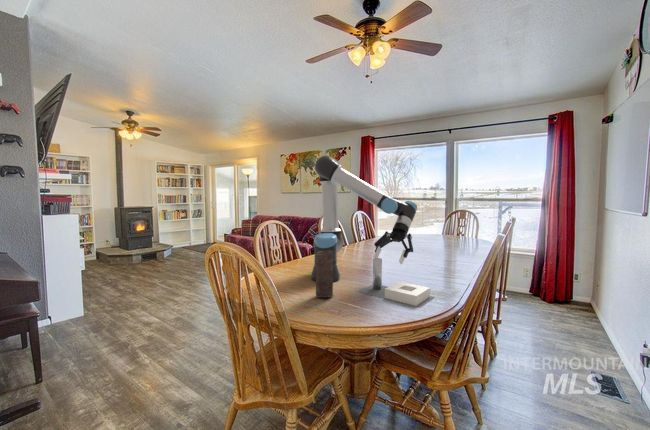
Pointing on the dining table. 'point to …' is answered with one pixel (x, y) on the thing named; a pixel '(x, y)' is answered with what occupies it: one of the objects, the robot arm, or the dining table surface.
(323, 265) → the candle
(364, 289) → the mat
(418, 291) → the hole block
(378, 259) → the pin
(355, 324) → the dining table surface
